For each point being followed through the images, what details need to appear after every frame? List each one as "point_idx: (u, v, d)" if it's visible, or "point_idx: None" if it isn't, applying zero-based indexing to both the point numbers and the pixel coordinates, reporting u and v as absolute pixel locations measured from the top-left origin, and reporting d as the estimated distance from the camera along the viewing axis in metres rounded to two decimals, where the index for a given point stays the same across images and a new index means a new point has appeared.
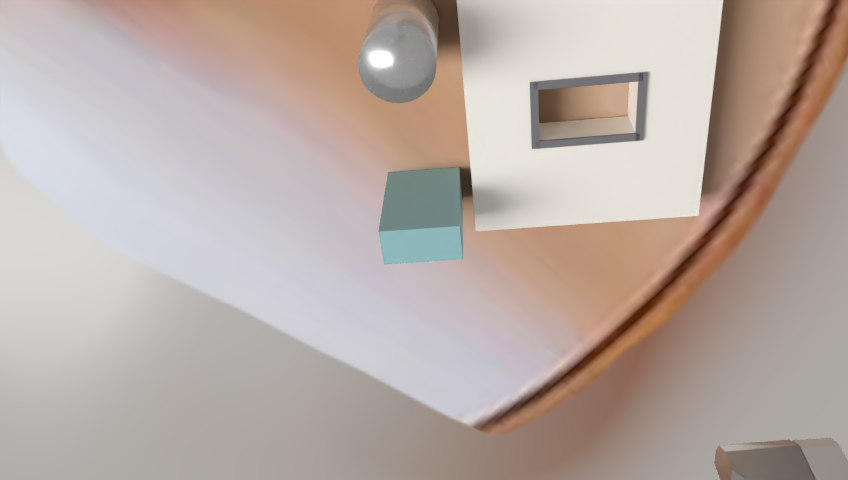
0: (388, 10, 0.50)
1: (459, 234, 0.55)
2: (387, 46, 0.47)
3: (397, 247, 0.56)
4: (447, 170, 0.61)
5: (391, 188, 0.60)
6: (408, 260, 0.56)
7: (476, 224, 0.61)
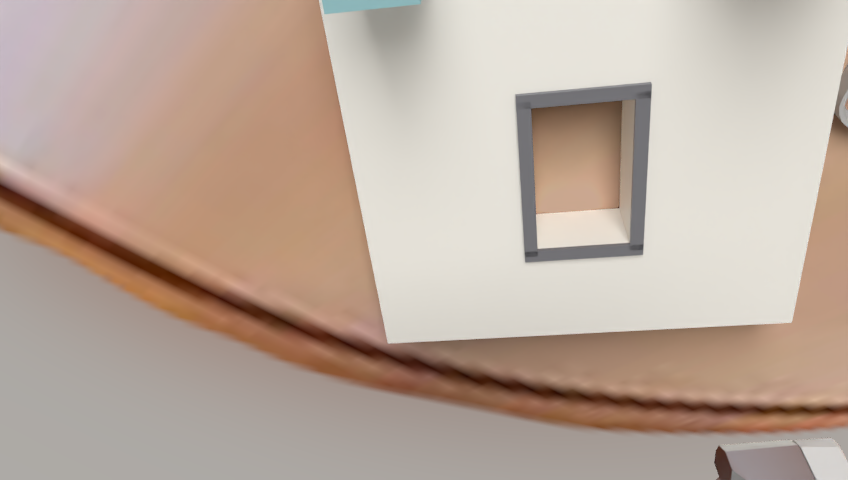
0: None
1: (395, 4, 0.23)
2: None
3: None
4: None
5: None
6: None
7: None
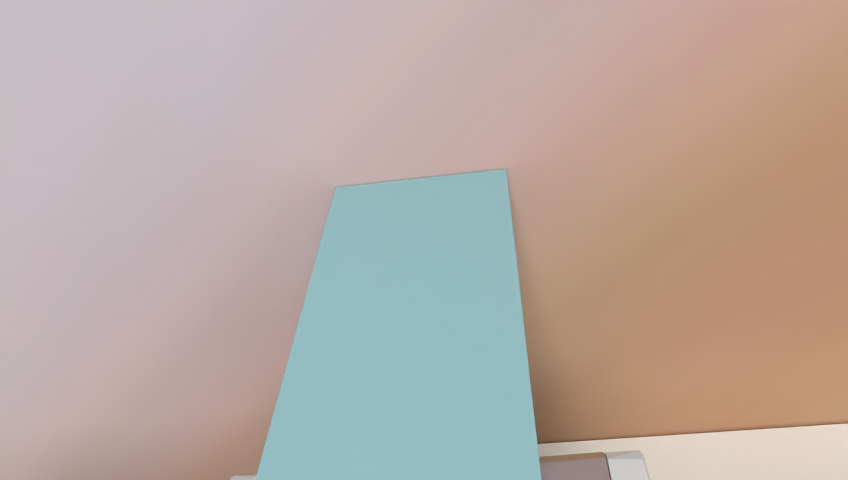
0: None
1: None
2: None
3: None
4: None
5: None
6: None
7: None
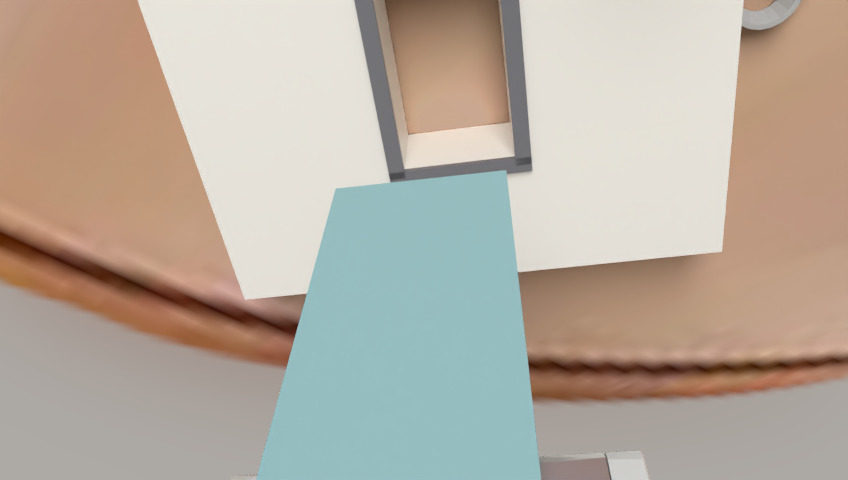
0: None
1: None
2: None
3: None
4: None
5: None
6: None
7: None
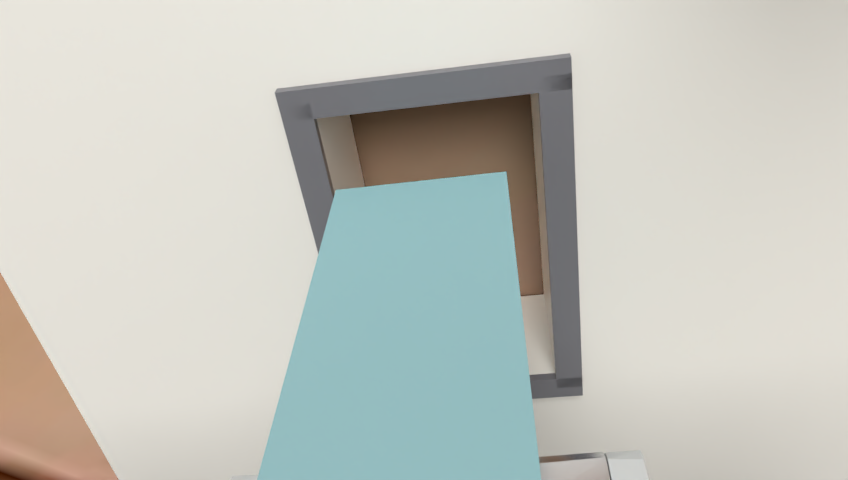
0: None
1: None
2: None
3: None
4: None
5: None
6: None
7: None
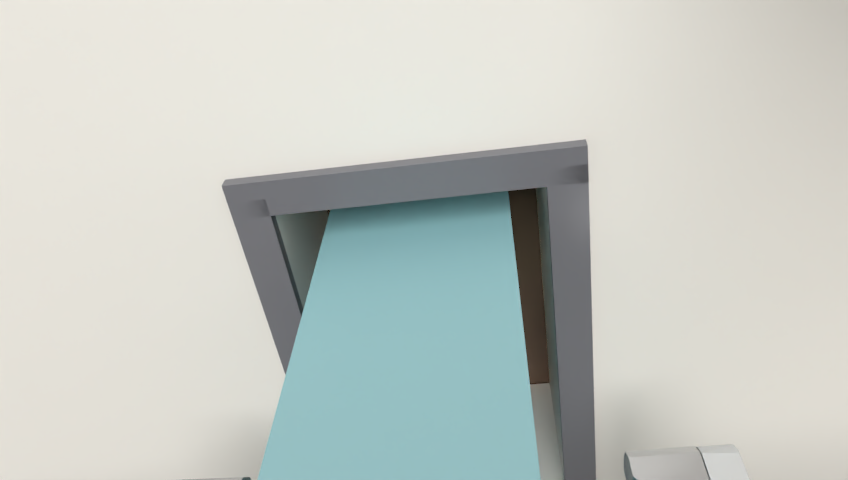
0: None
1: None
2: None
3: None
4: None
5: None
6: None
7: None
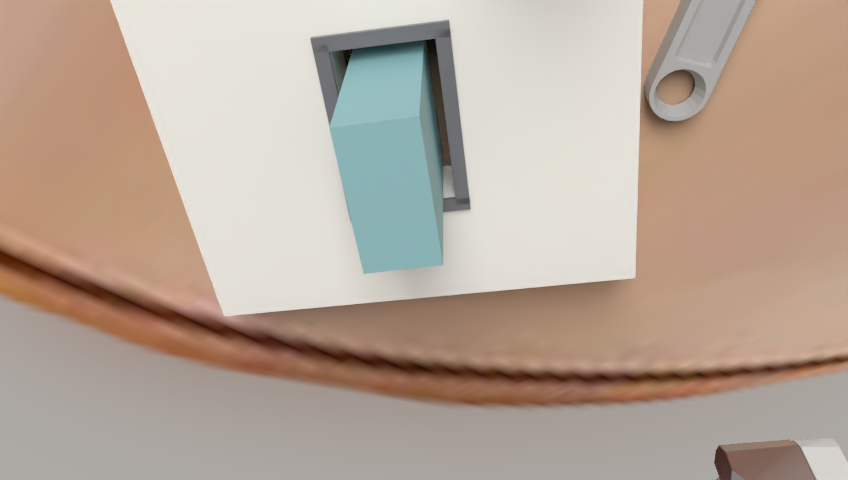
0: None
1: (422, 265, 0.27)
2: None
3: (380, 155, 0.25)
4: (439, 139, 0.34)
5: (425, 63, 0.30)
6: (347, 177, 0.25)
7: None
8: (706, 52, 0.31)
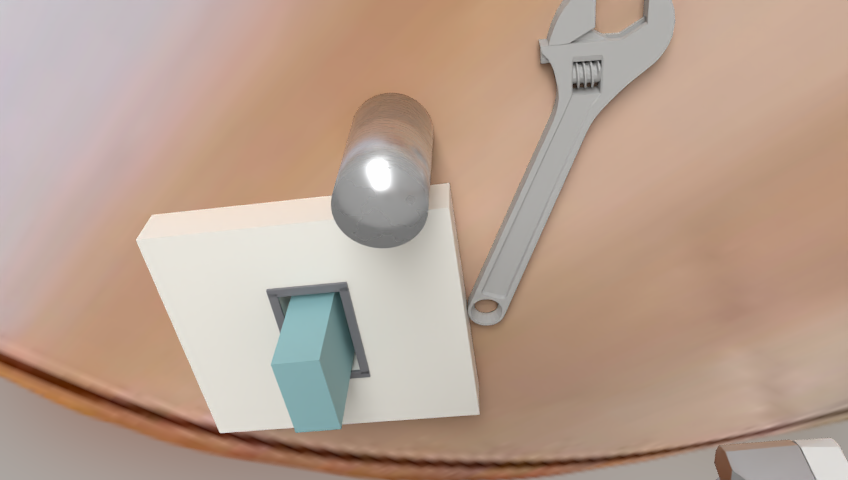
0: (427, 156, 0.41)
1: (329, 428, 0.47)
2: (404, 197, 0.38)
3: (300, 377, 0.45)
4: None
5: (335, 300, 0.50)
6: (282, 387, 0.45)
7: (146, 240, 0.47)
8: (501, 290, 0.51)
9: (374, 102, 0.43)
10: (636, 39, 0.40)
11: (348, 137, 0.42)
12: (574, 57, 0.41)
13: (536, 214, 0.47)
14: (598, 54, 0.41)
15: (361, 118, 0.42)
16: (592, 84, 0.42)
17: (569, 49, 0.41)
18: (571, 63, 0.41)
